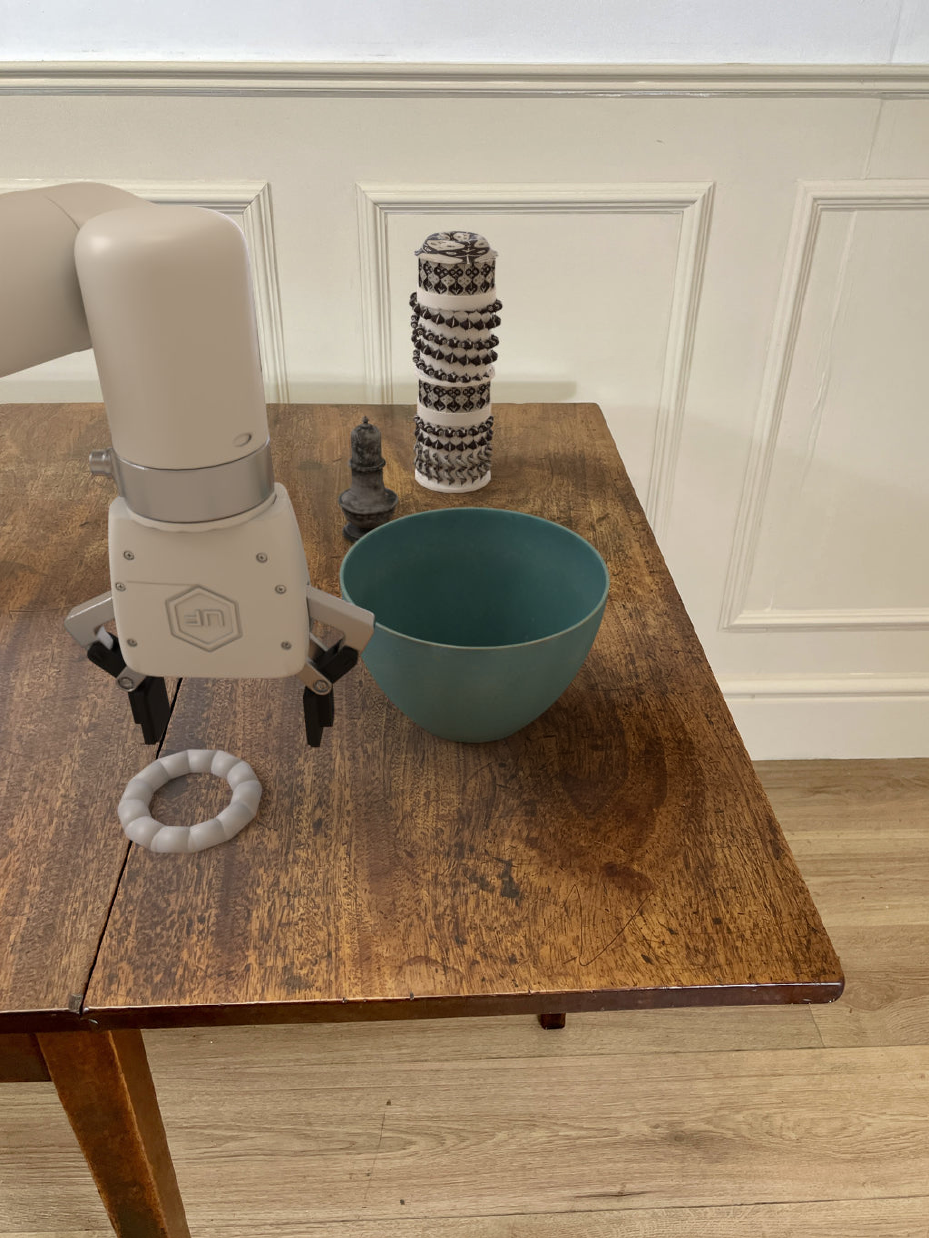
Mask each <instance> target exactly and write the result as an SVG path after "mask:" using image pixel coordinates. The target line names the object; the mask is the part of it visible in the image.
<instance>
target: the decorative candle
mask: <svg viewBox="0 0 929 1238" xmlns="http://www.w3.org/2000/svg"><path fill="white" fill-rule="evenodd" d="M414 256H416V257H417V258H418V259H417V260H418V264H417V265H418V267H417V268H418V271H417V273H418V274H417V275H418V278H417V279H418V280H417V282H416V291H414V292H413V293H411V294H410V296H409V298H410V299H409V301H408V305H409V307H411V309H412V312H413V314H411V316H410V320H411V321H410V327H411V329H413V330H412V332H411V334H412V335H411V336H410V340H411V342H412V343H413V347H414V349H413V351H412V355H413V356H412V362H413V363H415V365H414V376H415V377H416V378H418V396H416V398H417V399H416V402H417V403H416V408H417V409H416V412H415V415H414V417H413V422H414V424H415V430H414V431H413V436H415V439H416V441H415V444H414V445H413V453H414V455H415V457H414V459H413V465H414V467H415V470H414V474H415V475H414V479H415V481H416V482H417V483H418V484H419V485H420V486H421V487H424V488H426V489H428V490H430V491H433V492H440V493H445V494H463V493H469V492H474V491H478V490H480V489H482V488H484V487H486V486H487V485H488V484H489V482H490V481H491V480H492V475H491V470H492V467H493V466H492V465H491V464H492V463H493V460H492V459H491V457H492V456H493V452H492V451H493V449H494V447H493V446H492V445H491V441H492V440H493V437H494V436H493V435H494V431H493V429H492V427H493V426H494V419H495V418H494V416H493V415H492V398H491V381H492V380H493V379H494V378H495V377H496V368H495V365H493V363H495V362H497V361H498V357H499V354H498V353H497V351H495V350H494V348H495V347H498V346H499V345H500V340H499V337H498V336H497V335H495V334H494V333H492V329H495V328H497V327H499V326H501V324H502V318H501V317H500V316H498V315H497V312H500V311H501V310H502V309H503V307H504V305H503V303H502V301H501V300H500V299H498V298H497V286H496V263H497V261H496V260H497V258H498V257H499V253H498V251H496V250H494V249H492V247H491V245H490V243H489V242H488V239H487V238H486V237H485V236H483V235H481V234H479V233H475V232H470V231H464V230H463V231H461V230H447V231H439V232H435V233H434V232H433V233H432V234H430V235H429V236H427V237H426V238H425V240H424V241H423V243H422V245H421V246H420V247H419V248H417V249H415V250H414Z"/></svg>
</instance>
